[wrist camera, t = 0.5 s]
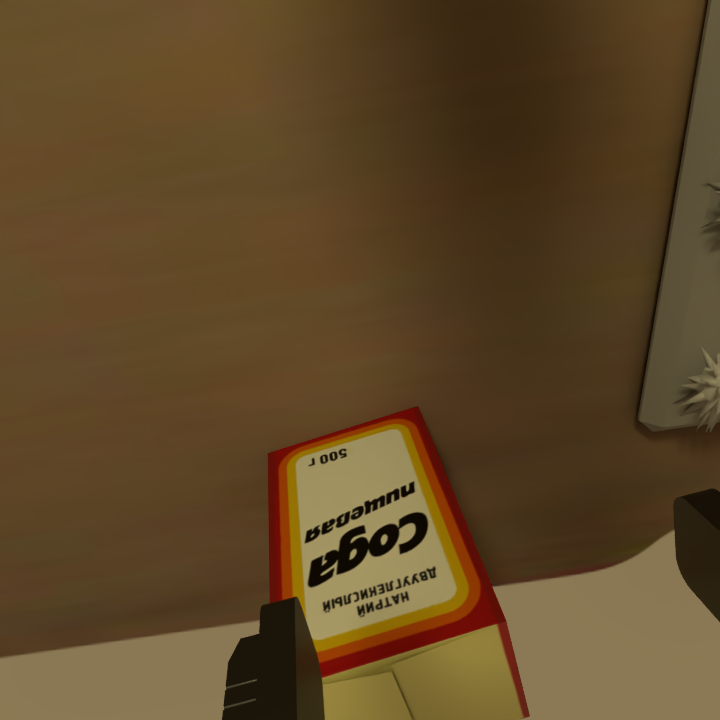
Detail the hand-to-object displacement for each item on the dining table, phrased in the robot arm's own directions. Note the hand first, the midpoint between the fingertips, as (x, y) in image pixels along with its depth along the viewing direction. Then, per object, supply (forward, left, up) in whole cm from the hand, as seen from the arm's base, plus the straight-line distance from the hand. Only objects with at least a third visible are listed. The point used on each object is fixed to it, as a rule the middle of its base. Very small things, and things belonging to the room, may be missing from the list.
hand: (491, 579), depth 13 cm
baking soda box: (+14, +4, -23) cm, 27 cm away
